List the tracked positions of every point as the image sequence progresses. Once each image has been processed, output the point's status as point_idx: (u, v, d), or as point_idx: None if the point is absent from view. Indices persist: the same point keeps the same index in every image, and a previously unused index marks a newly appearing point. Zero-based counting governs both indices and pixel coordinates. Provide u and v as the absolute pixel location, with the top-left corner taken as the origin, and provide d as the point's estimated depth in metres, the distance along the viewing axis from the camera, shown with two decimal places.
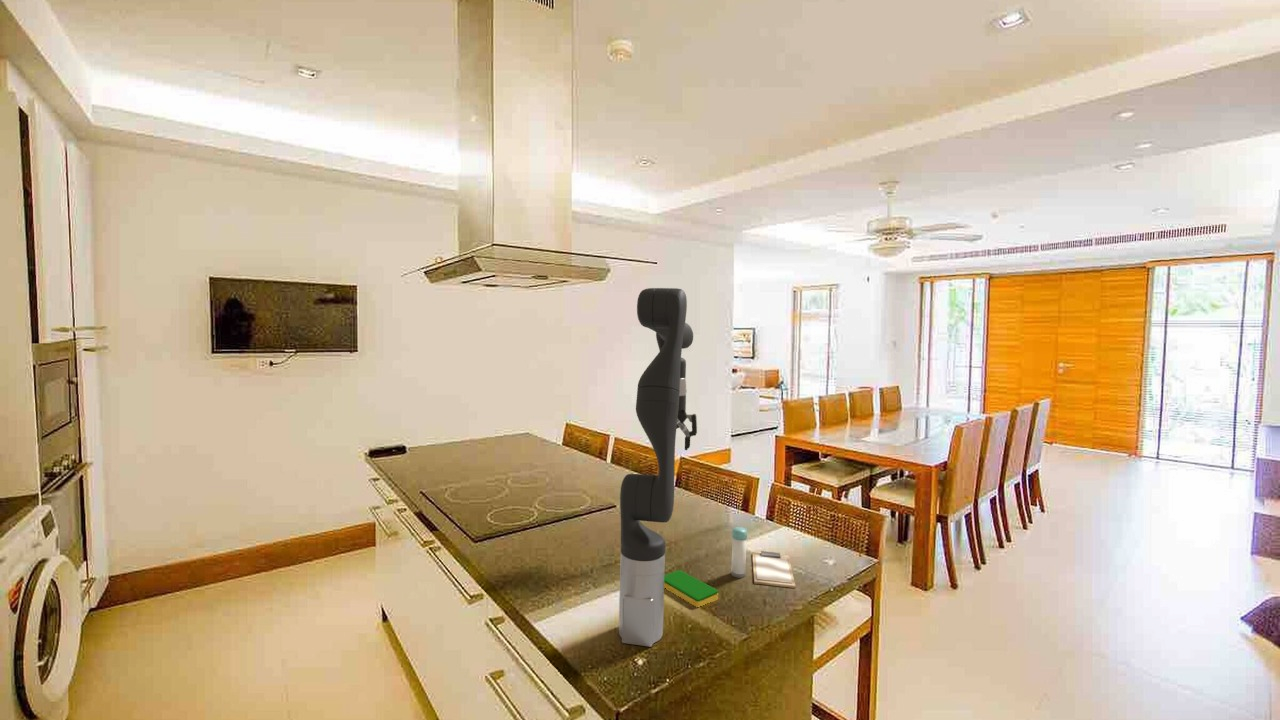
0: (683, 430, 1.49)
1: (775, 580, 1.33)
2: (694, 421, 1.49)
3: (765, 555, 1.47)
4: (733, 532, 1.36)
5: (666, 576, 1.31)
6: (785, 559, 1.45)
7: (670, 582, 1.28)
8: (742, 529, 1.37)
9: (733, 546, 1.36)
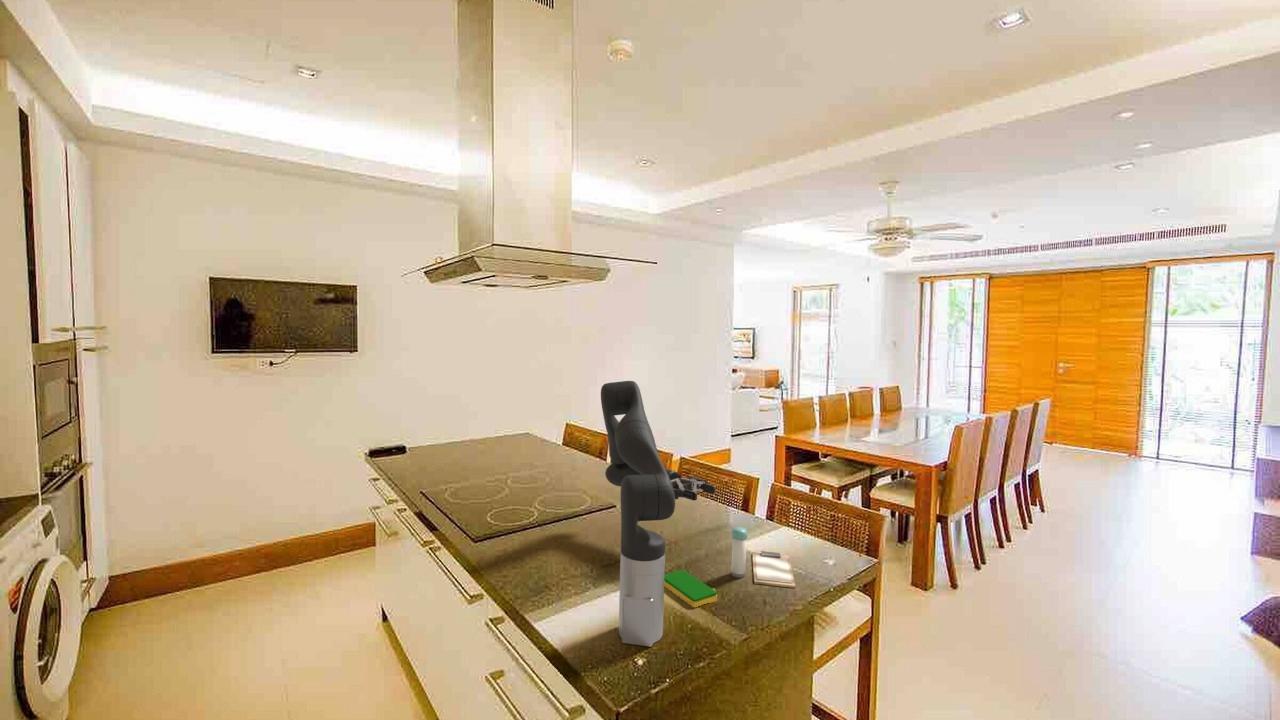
0: (696, 481, 1.50)
1: (775, 580, 1.33)
2: None
3: (765, 555, 1.47)
4: (733, 532, 1.36)
5: (668, 575, 1.31)
6: (785, 559, 1.45)
7: (670, 581, 1.28)
8: (742, 529, 1.37)
9: (733, 546, 1.36)
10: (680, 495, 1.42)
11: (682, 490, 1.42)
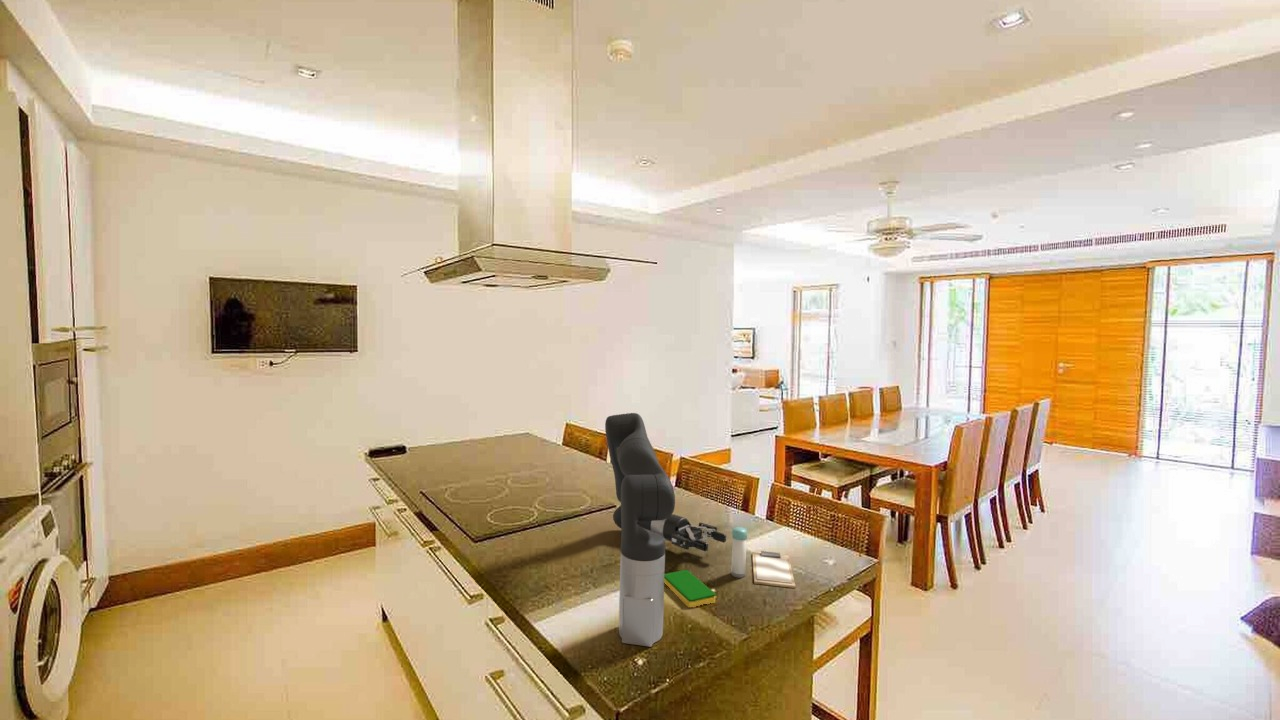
0: (706, 528, 1.48)
1: (775, 580, 1.33)
2: (705, 524, 1.52)
3: (765, 555, 1.47)
4: (733, 532, 1.36)
5: (670, 574, 1.32)
6: (785, 559, 1.45)
7: (671, 580, 1.29)
8: (742, 529, 1.37)
9: (733, 546, 1.36)
10: (691, 545, 1.40)
11: (693, 540, 1.40)
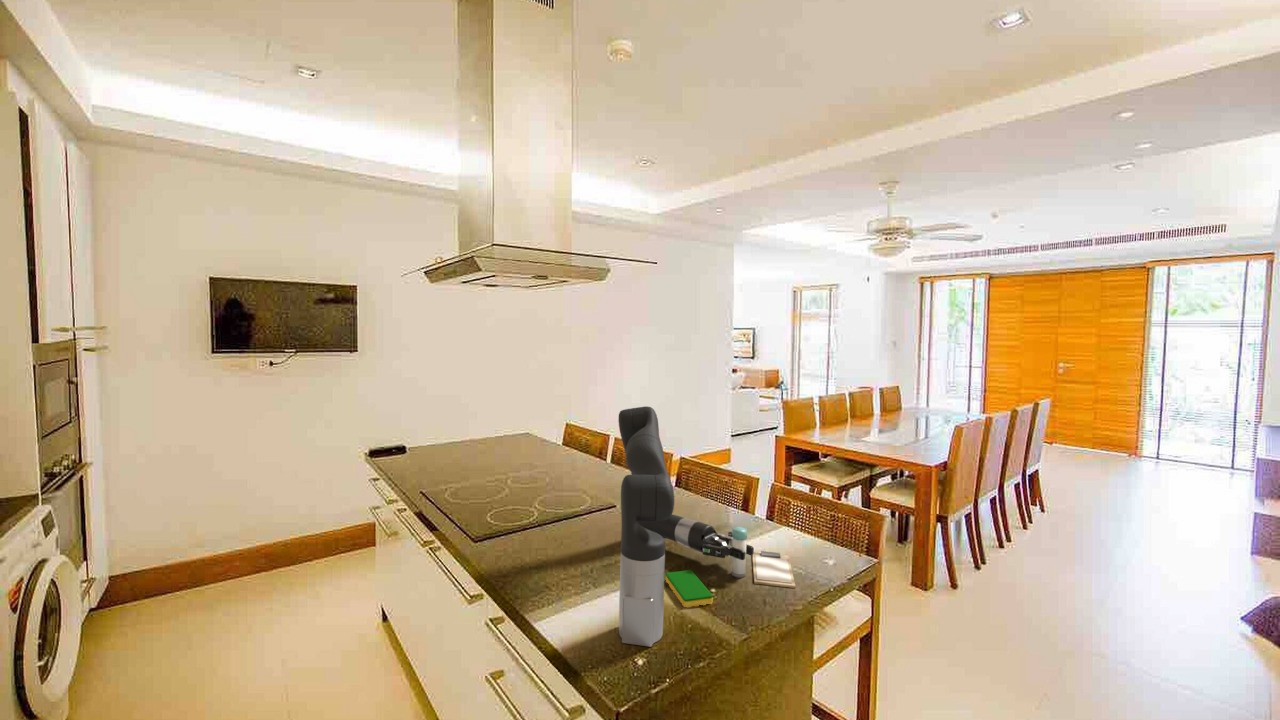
0: (732, 539, 1.40)
1: (775, 580, 1.33)
2: None
3: (765, 555, 1.47)
4: (733, 532, 1.36)
5: (673, 573, 1.32)
6: (785, 559, 1.45)
7: (672, 579, 1.29)
8: (742, 529, 1.37)
9: (733, 546, 1.36)
10: (727, 554, 1.35)
11: (729, 548, 1.35)
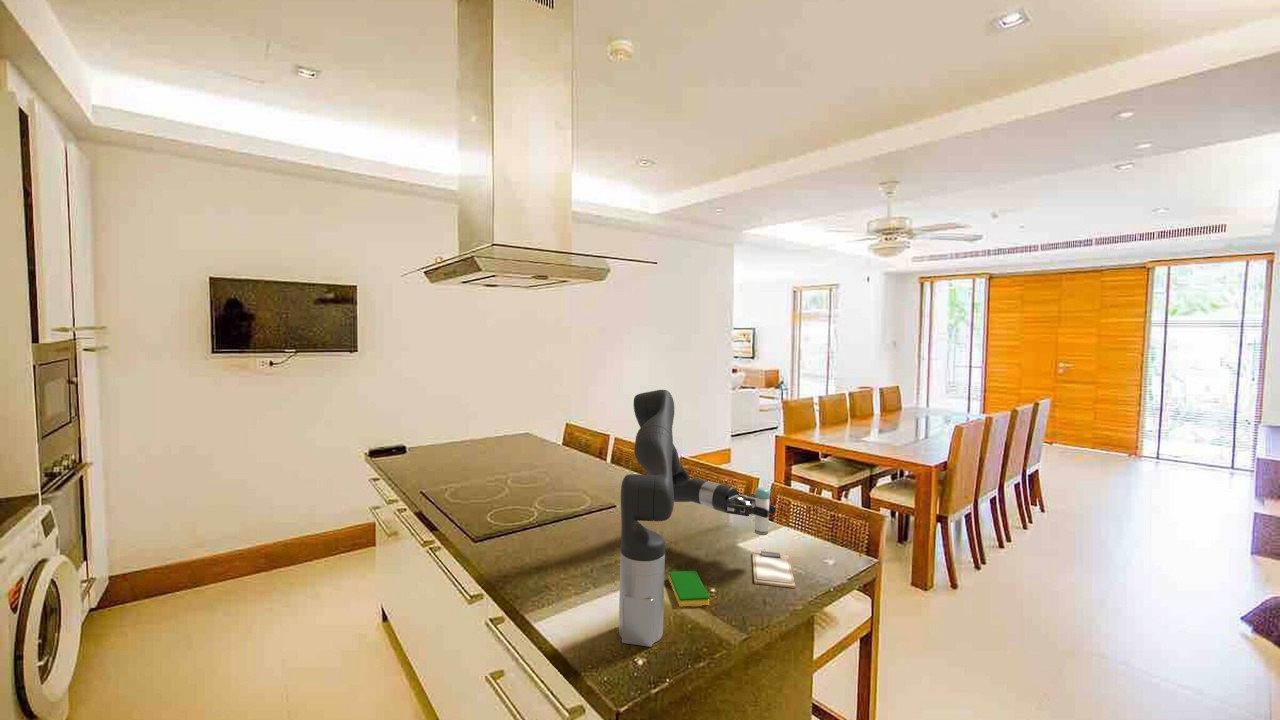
0: (755, 499, 1.47)
1: (775, 580, 1.33)
2: None
3: (765, 555, 1.47)
4: (757, 492, 1.42)
5: (676, 572, 1.33)
6: (785, 559, 1.45)
7: (673, 578, 1.30)
8: (765, 489, 1.43)
9: (757, 505, 1.42)
10: (751, 512, 1.41)
11: (753, 507, 1.42)
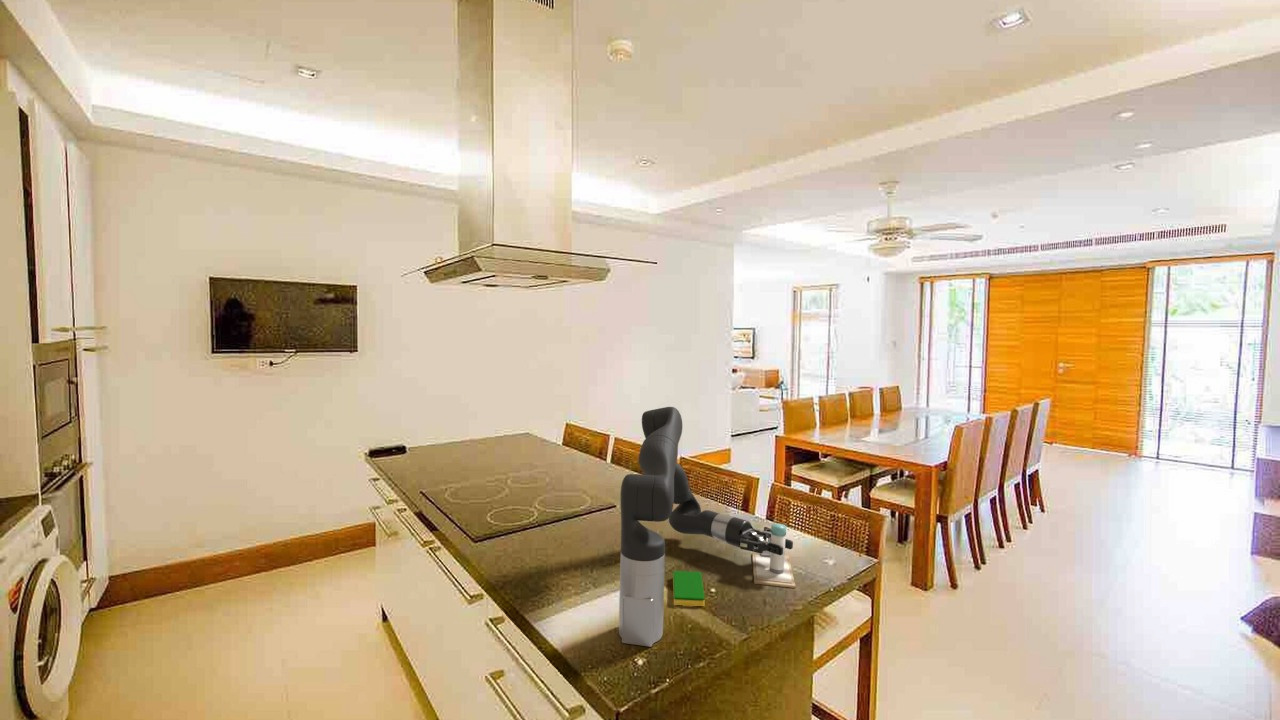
0: (770, 533, 1.42)
1: (775, 580, 1.33)
2: (770, 529, 1.46)
3: (765, 555, 1.47)
4: (772, 528, 1.37)
5: (680, 572, 1.33)
6: (785, 559, 1.45)
7: (675, 577, 1.30)
8: (781, 525, 1.38)
9: (772, 542, 1.37)
10: (764, 549, 1.35)
11: (766, 543, 1.36)
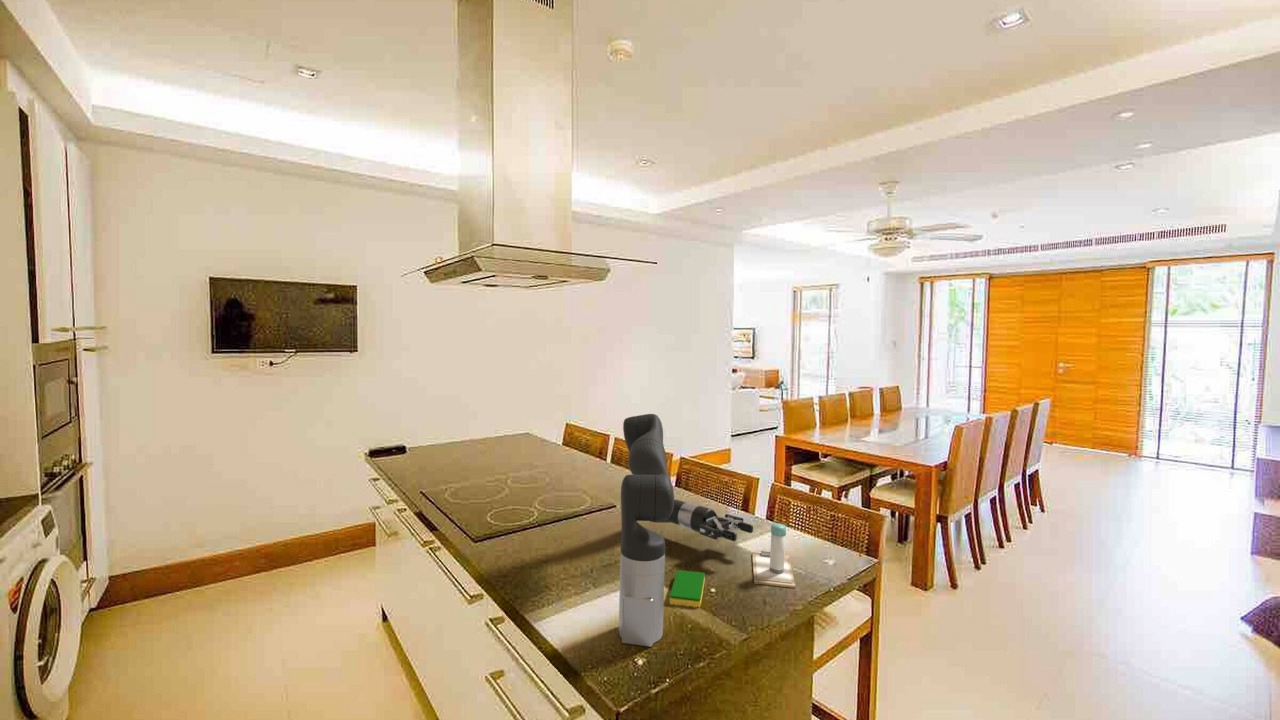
0: (733, 519, 1.51)
1: (775, 580, 1.33)
2: (731, 515, 1.55)
3: (765, 555, 1.47)
4: (772, 528, 1.37)
5: (684, 572, 1.33)
6: (785, 559, 1.45)
7: (677, 576, 1.31)
8: (781, 525, 1.38)
9: (772, 542, 1.37)
10: (719, 535, 1.43)
11: (721, 530, 1.43)
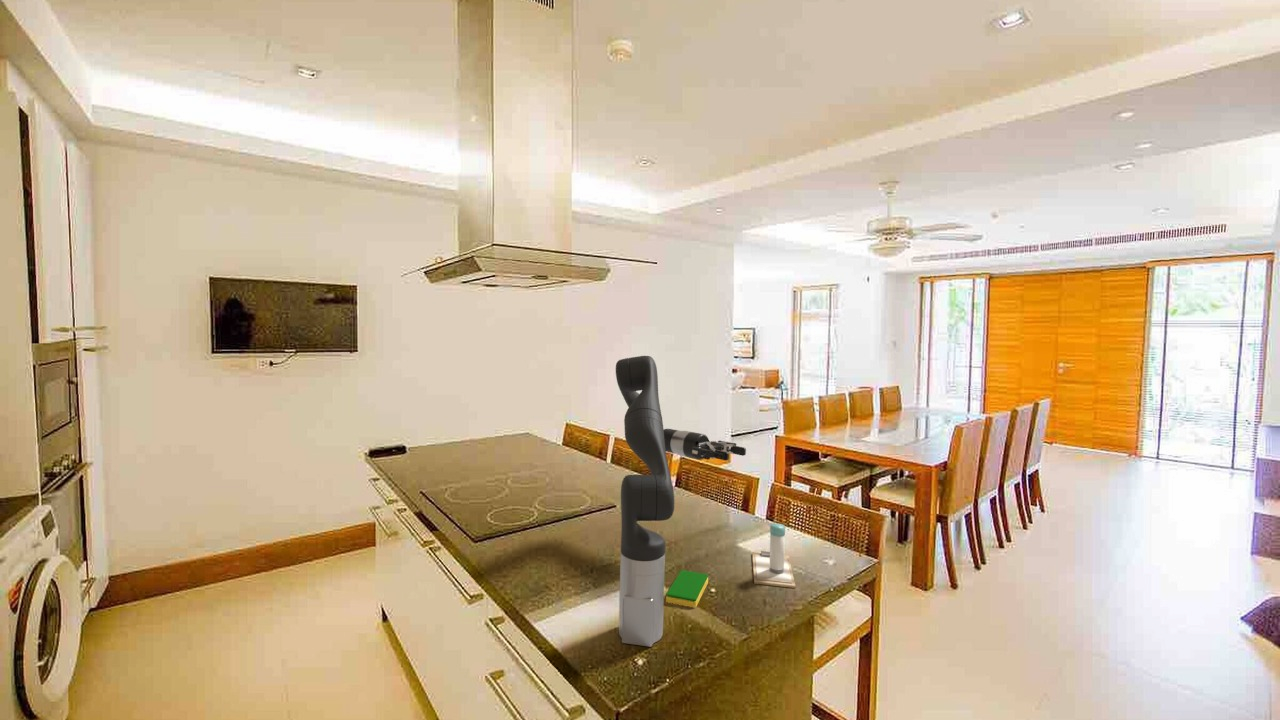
0: (726, 443, 1.50)
1: (775, 580, 1.33)
2: (724, 441, 1.54)
3: (765, 555, 1.47)
4: (771, 528, 1.37)
5: (687, 572, 1.33)
6: (785, 559, 1.45)
7: (679, 576, 1.31)
8: (780, 525, 1.38)
9: (771, 542, 1.37)
10: (711, 455, 1.42)
11: (713, 451, 1.42)
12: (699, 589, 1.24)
